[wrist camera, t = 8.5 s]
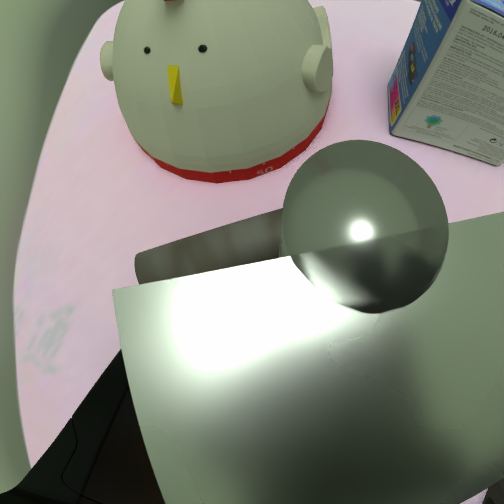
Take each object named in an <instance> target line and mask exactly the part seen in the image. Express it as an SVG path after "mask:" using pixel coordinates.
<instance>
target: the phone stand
mask: <svg viewBox="0 0 504 504" xmlns="http://www.w3.org/2000/svg"><path fill="white" fill-rule="evenodd" d="M482 504H504V478H503V479H501V480H500V481H498V482H497V483H495V484H493V485H492V486H490V487H489V488H488V491H487V493H486V496H485V498H484V500H483V503H482Z"/></svg>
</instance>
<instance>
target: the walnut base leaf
mask: <svg viewBox="0 0 504 504" xmlns="http://www.w3.org/2000/svg"><path fill="white" fill-rule="evenodd" d="M282 212H283V208H281V209H278V210H275V211H271V212H268V213H264V214H261V215H258V216H254V217H251V218H248V219H244V220H241V221H238V222H235V223H231V224H228V225H225V226H221V227H218V228H215V229H212V230H209V231H205V232H202V233H199V234H196V235H193V236H190V237H186V238H183V239H180V240H177V241H174V242H171V243H168V244H165V245H162V246H159V247H156V248H153V249H149V250H146V251H143V252H140V253H138V254H137V255H136V257H135V272H136V276H137V280H138V282H139V285H141V284H146V283H152V282H157V281H162V280H168V279H173V278H178V277H184V276H189V275H194V274H200V273H205V272H210V271H216V270H221V269H226V268H231V267H236V266H242V265H247V264H252V263H257V262H262V261H267V260H273V259H278V258H279V249H280V237H281V224H282Z"/></svg>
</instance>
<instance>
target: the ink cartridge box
mask: <svg viewBox="0 0 504 504" xmlns="http://www.w3.org/2000/svg"><path fill="white" fill-rule="evenodd" d="M388 100H389V126H390V132H391V133H392V134H393V135H395V136H400V137H404V138H408V139H412V140H416V141H420V142H424V143H427V144H431V145H435V146H438V147H441V148H445V149H448V150H451V151H455V152H458V153H461V154H464V155H467V156H470V157H473V158H476V159H479V160H482V161H485V162H488V163H491V164H493V165H496V166H499V165H501V164H502V163H503V162H504V0H422V1H421V4H420V7H419V10H418V12H417V15H416V18H415V20H414V23H413V26H412V28H411V31H410V33H409V36H408V38H407V41H406V43H405V46H404V48H403V51H402V53H401V55H400V58H399V60H398V63H397V65H396V67H395V70H394V72H393V74H392V77H391V79H390V81H389V83H388Z"/></svg>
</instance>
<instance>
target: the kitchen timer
mask: <svg viewBox="0 0 504 504" xmlns="http://www.w3.org/2000/svg"><path fill="white" fill-rule="evenodd" d="M100 64H101V70H102V72H103V75H104V76H105V77H106V78H107V79H108V80H110V81H114V83H115V89H116V94H117V99H118V103H119V107H120V109H121V112H122V114H123V116H124V119H125V121H126V123H127V126H128V128H129V130H130V132H131V134H132V136H133V138H134V140H135V141H136V142H137V143H138V145H139V146H140V147H141V148H142V149H143V151H144V152H145V153H146V154H147V155H148V156H150V157H151V158H152V159H153V160H154V161H155V162H156V163H157V164H158V165H159V166H160V167H161V168H163V169H165V170H168V171H170V172H172V173H174V174H176V175H179V176H181V177H183V178H185V179H190V180H198V181H205V182H212V183H223V182H231V181H240V180H249V179H252V178H255V177H257V176H260V175H263V174H265V173H268V172H271V171H273V170H276V169H279V168H281V167H282V166H284V165H285V164H286V163H288V162H289V161H291V160H292V159H293V158H295V157H296V156H298V155H299V154H301V153H302V152H303V151H305V150H306V148H307V147H308V146H309V144H310V143H311V142H312V140H313V139H314V138H315V137H316V135H317V134H318V133H319V131H320V130H321V128H322V125H323V122H324V118H325V115H326V112H327V109H328V105H329V101H330V97H331V93H332V76H333V58H332V45H331V34H330V27H329V22H328V17H327V14H326V10H325V8H324V7H323V6H320V7H316V8H312V6H311V5H310V3H309V2H308V0H125V2H124V4H123V6H122V9H121V11H120V14H119V17H118V20H117V23H116V28H115V33H114V40H113V41H107V42H105V43H104V45H103V46H102V48H101V52H100Z"/></svg>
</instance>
